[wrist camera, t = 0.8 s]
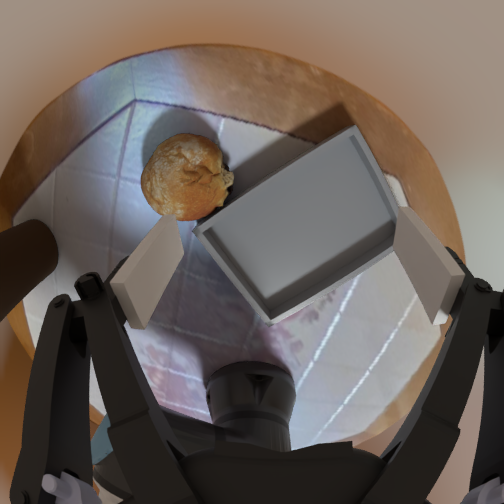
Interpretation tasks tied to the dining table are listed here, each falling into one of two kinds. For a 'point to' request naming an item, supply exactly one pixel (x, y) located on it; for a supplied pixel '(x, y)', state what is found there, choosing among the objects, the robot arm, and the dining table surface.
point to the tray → (304, 227)
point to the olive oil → (24, 261)
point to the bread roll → (186, 178)
